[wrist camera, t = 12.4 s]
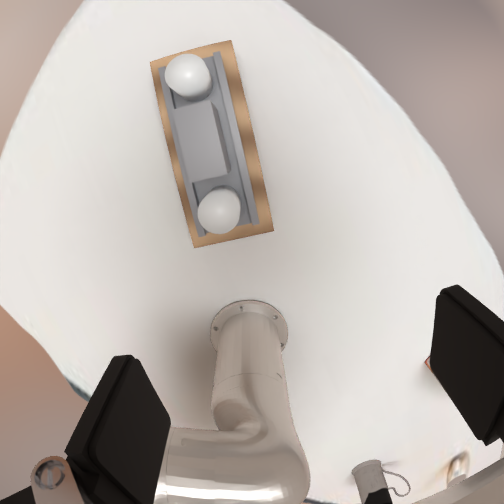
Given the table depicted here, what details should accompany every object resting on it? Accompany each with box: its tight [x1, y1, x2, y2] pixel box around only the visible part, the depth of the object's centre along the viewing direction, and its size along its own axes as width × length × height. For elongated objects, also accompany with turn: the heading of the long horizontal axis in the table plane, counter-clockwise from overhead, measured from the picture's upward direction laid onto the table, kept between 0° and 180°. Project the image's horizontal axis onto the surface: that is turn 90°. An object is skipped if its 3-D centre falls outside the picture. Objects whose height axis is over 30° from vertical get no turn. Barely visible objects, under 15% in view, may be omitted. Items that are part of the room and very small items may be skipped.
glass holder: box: [352, 460, 411, 504], centre depth 60 cm, size 9×14×15 cm, turn 103°
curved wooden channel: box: [150, 40, 274, 248], centre depth 37 cm, size 24×10×7 cm, turn 12°
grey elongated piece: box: [158, 51, 260, 237], centre depth 30 cm, size 20×7×8 cm, turn 12°
